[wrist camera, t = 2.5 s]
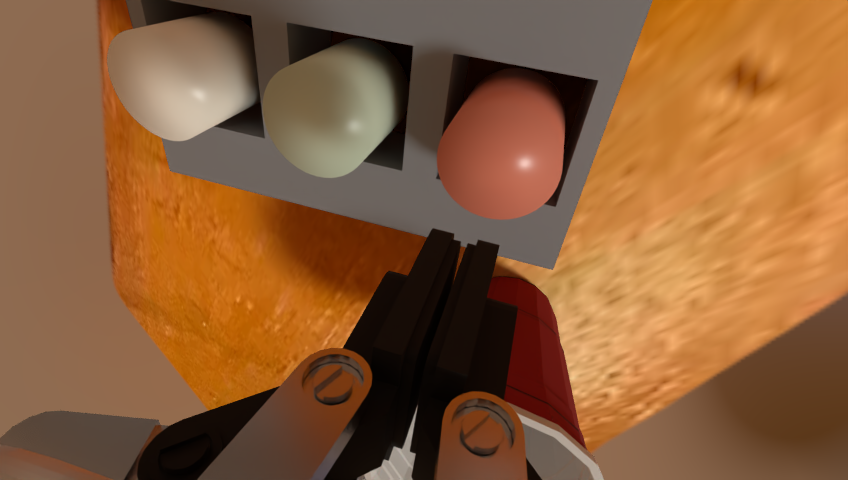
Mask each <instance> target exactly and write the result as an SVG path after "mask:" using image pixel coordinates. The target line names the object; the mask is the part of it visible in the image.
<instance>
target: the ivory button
mask: <svg viewBox="0 0 848 480" xmlns="http://www.w3.org/2000/svg"><path fill="white" fill-rule="evenodd" d="M107 65H108V72H109V76H110V79H111V82H112V85H113V87H114V90H115V92H116V94H117V96H118V97H119V99H120V101H121V102H122V104H123V105H124V107H125V108H126V109H127V111H128V112H129V113H130V114H131V115H132V116H133V118H134V119H135V120H136V121H137V122H139V123H140V124H141V125H142V126H143V127H144V128H146V129H147V130H149V131H150V132H152V133H153V134H155V135H157V136H159V137H161V138H164V139H167V140H172V141H185V140H188V139H191V138H193V137H194V136H196V135H198V134H200V133H202V132H204V131H206V130H208V129H210V128H212V127H213V126H215V125H217V124H219V123H221V122H223V121H225V120H227V119H229V118H230V117H232V116H234V115H236V114H238V113H240V112H242V111H244V110H246V109H248V108H249V107H251V106H253V105H255V104H257V103H259V102H260V101H261V98H260V90H259V81H258V72H257V63H256V54H255V45H254V36H253V30H252V29H251V28H250V27H249V26H248V25H247V24H245V23H244V22H243V21H241V20H240V19H238V18H237V17H235V16H233V15H231V14H228V13H224V12H210V13H205V14H200V15H196V16H191V17H186V18H182V19H177V20H172V21H168V22H163V23H158V24H153V25H149V26H144V27H139V28H135V29H130V30H126V31H123V32H121V33H119V34H118V35H117V36H115V37H114V39H113V40H112V42H111V44H110V46H109V49H108V55H107Z"/></svg>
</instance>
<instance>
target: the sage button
mask: <svg viewBox="0 0 848 480" xmlns="http://www.w3.org/2000/svg"><path fill="white" fill-rule="evenodd" d="M408 100H409V86H408V81H407V78H406V75H405V72H404V70H403V68H402V66H401V65H400V63H399V61H398V60H397V59H396V58H395V56H394V55H393V54H392V53H391V52H390V51H389V50H387V49H386V48H385V47H384V46H382V45H380V44H378V43H376V42H374V41H372V40H368V39H363V38H352V39H347V40H345V41H342V42H340V43H338V44H335V45H333V46H331V47H329V48H327V49H324V50H322V51H320V52H318V53H316V54H313V55H311V56H309V57H307V58H305V59H302V60H300V61H298V62H296V63H294V64H291V65H289V66H287V67H285V68H283V69H281V70H280V71H278V72H277V73H276V74H275V75H274V76H273V77H272V78H271V80H270V81H269V83H268V85H267V87H266V90H265V92H264V97H263V116H264V122H265V125H266V128H267V131H268V133H269V136H270V137H271V139H272V141H273V143H274V144H275V146H276V147H277V149H278V150H279V151H280V153H281V154H282V155H283V156H284V157H285V158H286V159H287V160H288V161H289V162H291V163H292V164H293V165H294V166H296V167H297V168H299V169H301V170H302V171H304V172H306V173H309V174H311V175H314V176H318V177H323V178H336V177H341V176H344V175H346V174H348V173H350V172H352V171H353V170H355V169H356V168H357V167H358V166H359V165H360V164H361V163H362V162H363V161H364V160H365V159H366V158H367V156H368V155H369V154H370V153H371V152H372V151H373V150H374V149H375V148H376V147H377V146H378V145H379V144H380V143H381V142H382V141H383V140H384V138H385V137H386V136H387V135H388V134H389V133H390V132H391V131H392V130H393V129H394V128H395V127H396V126H397V125H398V124H399V122H400V121H401V120H402V118H403V117H404V115H405V113H406V110H407V107H408Z"/></svg>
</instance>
